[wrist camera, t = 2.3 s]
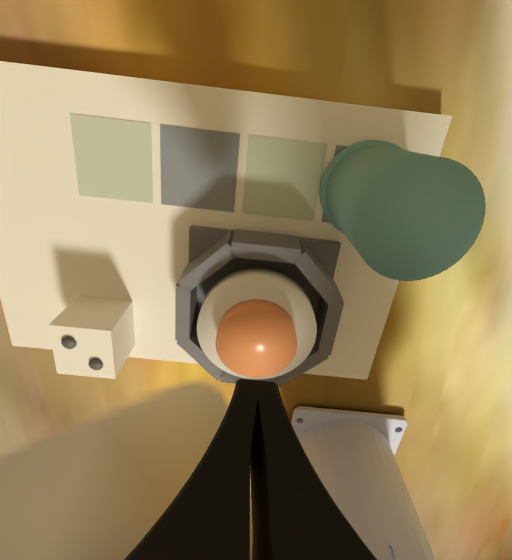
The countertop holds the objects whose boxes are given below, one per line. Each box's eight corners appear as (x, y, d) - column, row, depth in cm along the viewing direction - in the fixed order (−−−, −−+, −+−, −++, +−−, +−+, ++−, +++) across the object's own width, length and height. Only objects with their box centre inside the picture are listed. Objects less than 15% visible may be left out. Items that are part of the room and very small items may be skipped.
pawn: (397, 238, 17) (461, 292, 12) (311, 228, 17) (335, 279, 11) (425, 145, 15) (517, 158, 10) (329, 134, 15) (367, 140, 10)
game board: (362, 369, 22) (383, 419, 18) (23, 336, 21) (-28, 381, 17) (441, 116, 15) (497, 114, 12) (-42, 57, 15) (-144, 35, 11)
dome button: (303, 368, 18) (308, 399, 16) (199, 358, 18) (191, 388, 16) (323, 274, 16) (332, 296, 14) (203, 261, 15) (194, 282, 13)
